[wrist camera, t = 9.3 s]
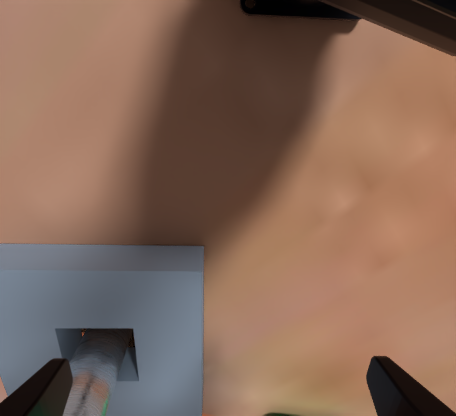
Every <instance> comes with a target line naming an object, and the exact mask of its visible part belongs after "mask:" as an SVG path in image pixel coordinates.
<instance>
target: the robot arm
mask: <svg viewBox="0 0 456 416" xmlns="http://www.w3.org/2000/svg"><path fill="white" fill-rule="evenodd" d="M245 1H246V0H240V8H241V10H242V12H243V13H244V14H245V15H249V16H268V17H289V18H309V19H330V20H351V21H355V20H359V19H365V20H367V21H369V22H372V23H374V24H377V25H379V26H381V27H384V28H386V29H389V30H391V31H393V32H396V33H398V34H401V35H403V36H406V37H408V38H410V39H413V40H415V41H418V42H420V43H422V44H425V45H427V46H430V47H432V48H435V49H437V50H439V51H442V52H444V53H447V54H449V55H451V56H456V0H254V3H255V5H254V7H253V8H248V7H247V6H246V4H245ZM366 379H367V384H368V387H369V390H370V393H371V397H372V400H373V403H374V406H375V409H376V412H377V415H378V416H456V413H455V412H453V411H452V410H451V409H450V408H449V407H447V406H446V405H445V404H444V403H443V402H441V401H440V400H439V399H438V398H437V397H435V396H434V395H433V394H432V393H431V392H429V391H428V390H427V389H426V388H425V387H423V386H422V385H421V384H420V383H419V382H417V381H416V380H415V379H414V378H413V377H411V376H410V375H409V374H408V373H407V372H405V371H404V370H403V369H402V368H401V367H399V366H398V365H397V364H396V363H395V362H393V361H392V360H391V359H390V358H388V357H386V356H373V357H372V359H371V362H370V365H369V368H368V371H367V375H366ZM72 383H73V376H72V372H71V367H70V363H69V360H68V359H67V358H53V359H51V360H50V361H48V362H47V363H46V364H45V365H44V366H43V367H42V368H40V369H39V370H38V371H37V372H36V373H35V374H33V375H32V376H31V377H30V378H29V379H28V380H26V381H25V382H24V383H23V384H22V385H21V386H20V387H18V388H17V389H16V390H15V391H14V392H13V393H11V394H10V395H9V396H8V397H7V398H6V399H4V400H3V401H2V402H1V403H0V416H63V413H64V410H65V407H66V404H67V400H68V397H69V394H70V391H71V388H72Z"/></svg>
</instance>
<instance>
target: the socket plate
mask: <svg viewBox="0 0 456 416" xmlns="http://www.w3.org/2000/svg"><path fill="white" fill-rule="evenodd" d="M81 328H133V332H134V340H135V347H128V348H127V351H126V354H125V357H124V360H123V363H122V366H121V369H120V372H119V375H118V378H117V382H116V385H115V388H114V391H113V394H112V397H111V400H110V403H109V406H108V409H107V412H106V416H202V404H203V337H204V246H157V245H74V244H0V377H1V379H2V382H3V385H4V387H5V390H6V393H7V395H8V396H9V395H10V394H11V393H13V392H14V391H15V390H16V389H17V388H18V387H20V386H21V385H22V384H23V383H24V382H25V381H26V380H28V379H29V378H30V377H31V376H32V375H33V374H35V373H36V372H37V371H38V370H39V369H40V368H42V367H43V366H44V365H45V364H46V363H47V362H48V361H50V360H51V359H53V358H67V359H68V360H69V363H70V361H71V359H72V357H73V355H74V353H75V351H76V349H77V347H78V345H79V343H80V341H81V339H82V332H81Z"/></svg>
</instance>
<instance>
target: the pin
mask: <svg viewBox="0 0 456 416" xmlns="http://www.w3.org/2000/svg"><path fill="white" fill-rule="evenodd" d="M132 332H133V328H87V329H86V331H85V333H84V335H83V337H82V339H81V341H80V343H79V345H78V347H77V349H76V351H75V353H74V355H73V357H72V359H71V361H70V367H71V372H72V376H73V383H72V388H71V391H70V394H69V397H68V400H67V404H66V407H65V410H64V413H63V416H106V412H107V409H108V406H109V403H110V400H111V397H112V394H113V391H114V388H115V385H116V382H117V378H118V375H119V372H120V369H121V366H122V363H123V360H124V357H125V354H126V351H127V348H128V344H129V341H130V338H131V335H132Z"/></svg>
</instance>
